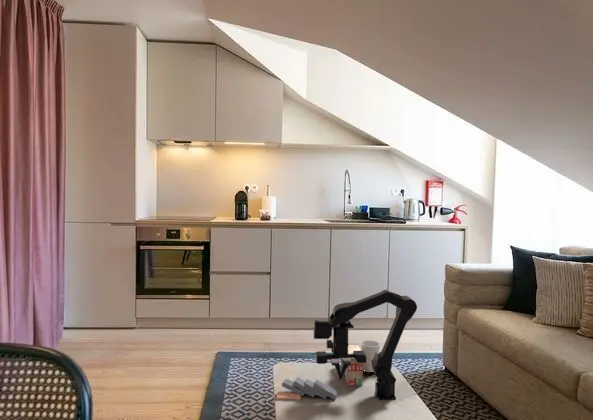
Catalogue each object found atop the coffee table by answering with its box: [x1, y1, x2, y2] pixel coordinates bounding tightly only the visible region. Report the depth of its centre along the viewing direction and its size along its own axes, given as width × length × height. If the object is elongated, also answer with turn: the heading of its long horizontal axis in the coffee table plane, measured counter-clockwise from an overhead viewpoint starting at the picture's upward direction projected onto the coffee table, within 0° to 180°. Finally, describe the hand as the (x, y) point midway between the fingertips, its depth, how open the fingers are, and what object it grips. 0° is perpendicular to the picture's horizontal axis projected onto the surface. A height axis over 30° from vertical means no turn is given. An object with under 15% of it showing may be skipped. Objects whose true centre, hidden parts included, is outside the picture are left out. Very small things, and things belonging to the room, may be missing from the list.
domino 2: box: [276, 390, 302, 401], centre depth 171 cm, size 2×5×9 cm
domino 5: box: [314, 379, 338, 401], centre depth 171 cm, size 2×5×9 cm
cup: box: [360, 339, 381, 372], centre depth 196 cm, size 8×8×12 cm
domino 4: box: [304, 378, 328, 400], centre depth 172 cm, size 2×5×9 cm
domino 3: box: [293, 376, 316, 398], centre depth 173 cm, size 2×5×9 cm
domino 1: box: [281, 378, 306, 397], centre depth 174 cm, size 2×5×9 cm
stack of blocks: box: [344, 344, 364, 387], centre depth 192 cm, size 21×6×12 cm, turn 1°
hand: (340, 379), depth 172 cm, fingers closed
